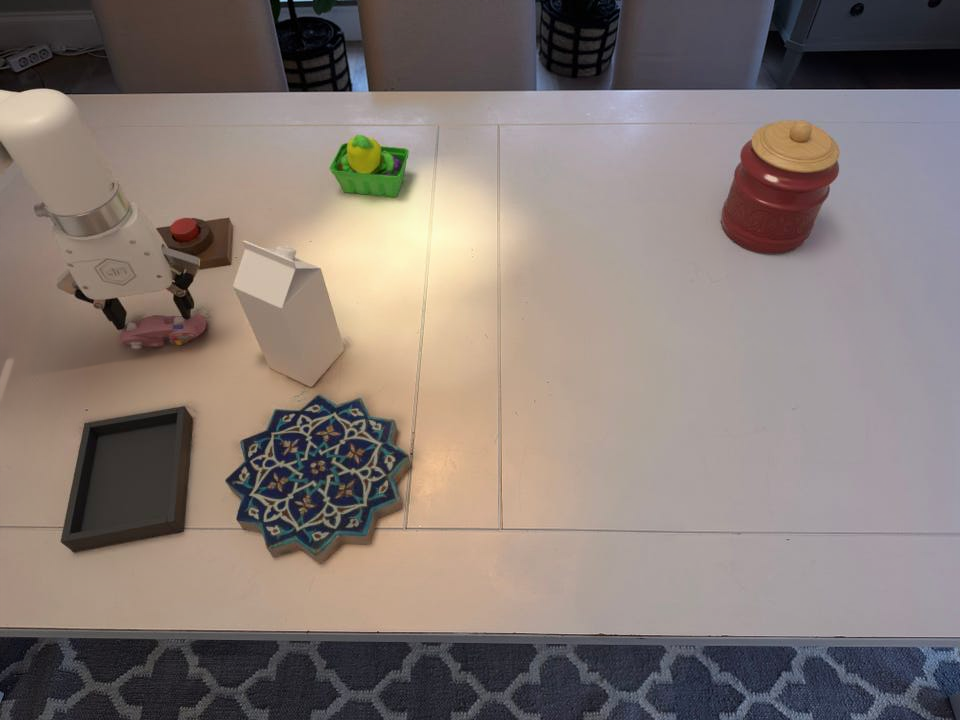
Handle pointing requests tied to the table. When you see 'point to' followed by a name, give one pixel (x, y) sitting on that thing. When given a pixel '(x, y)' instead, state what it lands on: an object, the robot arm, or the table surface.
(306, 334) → the milk carton
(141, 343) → the pink toy car
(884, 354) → the table surface
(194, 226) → the power button
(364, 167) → the fruit basket
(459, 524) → the table surface
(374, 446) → the decorative tile
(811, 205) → the kitchen canister
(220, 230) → the switch block
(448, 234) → the table surface
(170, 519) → the dock
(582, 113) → the table surface
